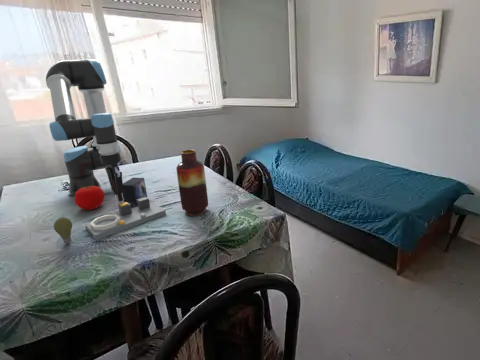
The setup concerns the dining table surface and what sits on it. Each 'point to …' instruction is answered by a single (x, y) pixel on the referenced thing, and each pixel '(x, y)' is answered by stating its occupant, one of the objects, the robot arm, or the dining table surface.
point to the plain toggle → (143, 203)
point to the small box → (134, 190)
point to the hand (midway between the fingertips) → (121, 207)
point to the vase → (192, 184)
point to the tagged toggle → (124, 208)
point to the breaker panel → (122, 221)
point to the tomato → (89, 197)
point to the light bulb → (63, 229)
